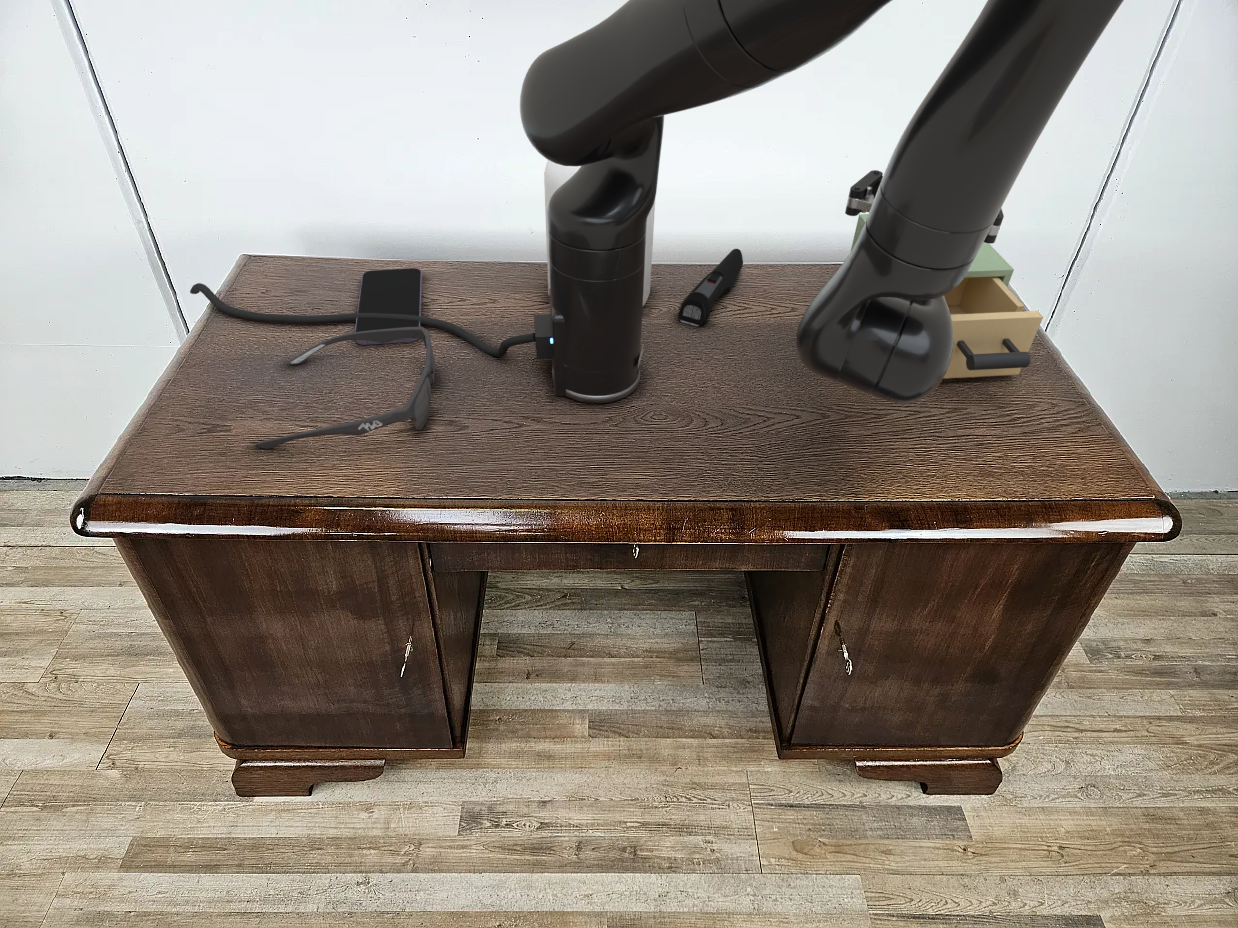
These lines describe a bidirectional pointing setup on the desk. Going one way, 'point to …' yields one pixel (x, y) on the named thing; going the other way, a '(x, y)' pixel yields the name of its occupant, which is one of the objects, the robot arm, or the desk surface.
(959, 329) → the drawer
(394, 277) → the smartphone
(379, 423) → the sunglasses
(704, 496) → the desk surface
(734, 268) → the electric trimmer
